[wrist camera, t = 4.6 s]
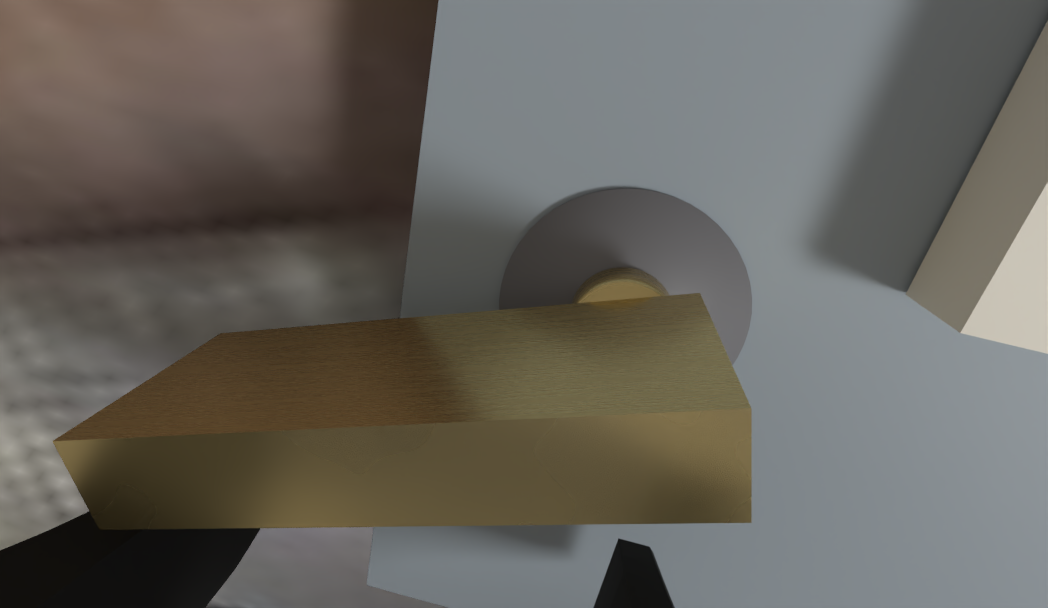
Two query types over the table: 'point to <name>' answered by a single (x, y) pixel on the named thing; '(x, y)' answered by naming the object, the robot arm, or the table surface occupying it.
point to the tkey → (436, 422)
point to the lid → (999, 227)
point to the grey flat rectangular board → (746, 283)
